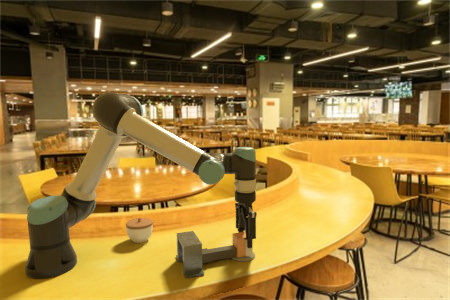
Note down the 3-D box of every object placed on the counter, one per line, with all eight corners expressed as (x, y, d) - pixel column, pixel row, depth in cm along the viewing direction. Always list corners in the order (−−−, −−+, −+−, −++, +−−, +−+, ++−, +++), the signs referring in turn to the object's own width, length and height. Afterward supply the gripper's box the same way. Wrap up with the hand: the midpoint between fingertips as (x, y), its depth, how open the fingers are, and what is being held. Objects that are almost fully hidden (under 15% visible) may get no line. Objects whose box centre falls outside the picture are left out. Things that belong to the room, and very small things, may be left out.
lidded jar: (155, 234, 129) (155, 213, 127) (150, 245, 118) (149, 222, 117) (130, 235, 128) (129, 214, 127) (123, 245, 118) (122, 223, 116)
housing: (176, 257, 108) (175, 231, 107) (192, 254, 110) (191, 228, 109) (185, 278, 94) (185, 249, 92) (204, 275, 96) (203, 246, 95)
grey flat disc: (226, 252, 111) (226, 251, 111) (248, 248, 115) (248, 247, 115) (236, 263, 103) (235, 262, 103) (259, 259, 106) (259, 257, 106)
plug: (198, 257, 106) (198, 238, 105) (244, 249, 112) (244, 231, 111) (202, 264, 101) (201, 244, 100) (250, 255, 107) (250, 236, 106)
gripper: (226, 185, 113) (227, 243, 116) (246, 197, 97) (246, 265, 99) (244, 184, 116) (244, 240, 119) (266, 195, 99) (266, 261, 102)
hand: (245, 251), depth 109 cm, fingers closed on plug, 5 cm apart
